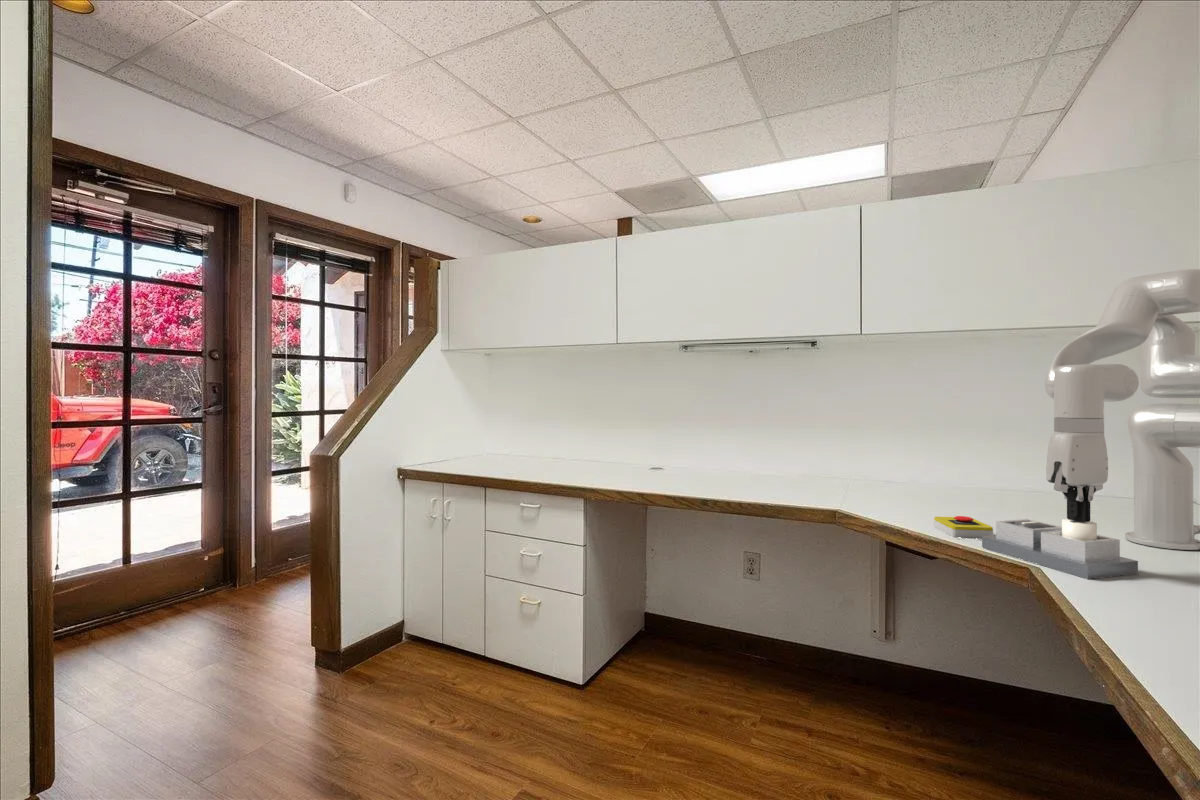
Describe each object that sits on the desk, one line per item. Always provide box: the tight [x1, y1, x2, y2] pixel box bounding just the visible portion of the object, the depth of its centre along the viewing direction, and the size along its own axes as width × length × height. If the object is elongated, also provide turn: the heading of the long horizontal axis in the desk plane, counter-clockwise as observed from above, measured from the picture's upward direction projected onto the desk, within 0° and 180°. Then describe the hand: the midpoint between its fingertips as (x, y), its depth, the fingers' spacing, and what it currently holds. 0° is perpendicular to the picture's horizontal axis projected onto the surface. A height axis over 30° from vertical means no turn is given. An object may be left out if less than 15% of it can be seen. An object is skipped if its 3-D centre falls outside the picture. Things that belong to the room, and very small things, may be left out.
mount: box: [981, 518, 1139, 580], centre depth 114 cm, size 12×22×6 cm, turn 12°
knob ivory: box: [1061, 518, 1098, 541], centre depth 110 cm, size 5×5×6 cm
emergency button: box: [933, 515, 994, 541], centre depth 138 cm, size 9×4×15 cm
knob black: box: [1015, 521, 1045, 529], centre depth 119 cm, size 5×5×6 cm
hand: (1078, 520), depth 109 cm, fingers closed
